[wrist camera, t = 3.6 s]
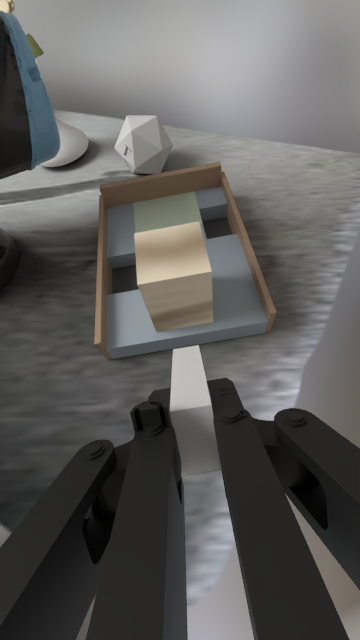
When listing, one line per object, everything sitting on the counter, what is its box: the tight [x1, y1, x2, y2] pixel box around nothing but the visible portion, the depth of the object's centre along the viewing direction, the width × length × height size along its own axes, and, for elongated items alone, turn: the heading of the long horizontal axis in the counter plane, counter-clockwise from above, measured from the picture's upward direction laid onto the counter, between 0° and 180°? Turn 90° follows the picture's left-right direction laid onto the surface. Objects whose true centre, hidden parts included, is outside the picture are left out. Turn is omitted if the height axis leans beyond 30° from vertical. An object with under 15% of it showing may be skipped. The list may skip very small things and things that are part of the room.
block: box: [134, 221, 213, 332], centre depth 27 cm, size 6×6×8 cm
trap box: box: [94, 162, 277, 360], centre depth 34 cm, size 24×18×6 cm
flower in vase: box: [0, 0, 89, 167], centre depth 44 cm, size 13×11×25 cm
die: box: [114, 116, 173, 175], centre depth 46 cm, size 8×9×10 cm
